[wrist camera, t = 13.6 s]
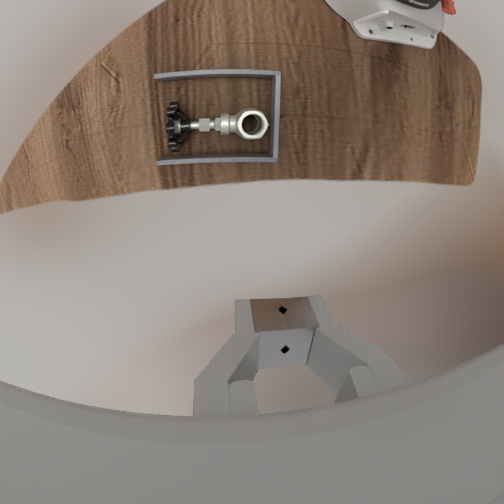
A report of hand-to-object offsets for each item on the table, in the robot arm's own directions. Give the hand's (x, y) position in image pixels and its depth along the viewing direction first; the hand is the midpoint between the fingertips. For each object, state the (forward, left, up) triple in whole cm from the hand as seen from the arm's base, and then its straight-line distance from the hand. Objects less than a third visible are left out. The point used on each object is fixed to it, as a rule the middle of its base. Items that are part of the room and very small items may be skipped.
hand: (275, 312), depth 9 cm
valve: (+2, -5, -31) cm, 32 cm away
